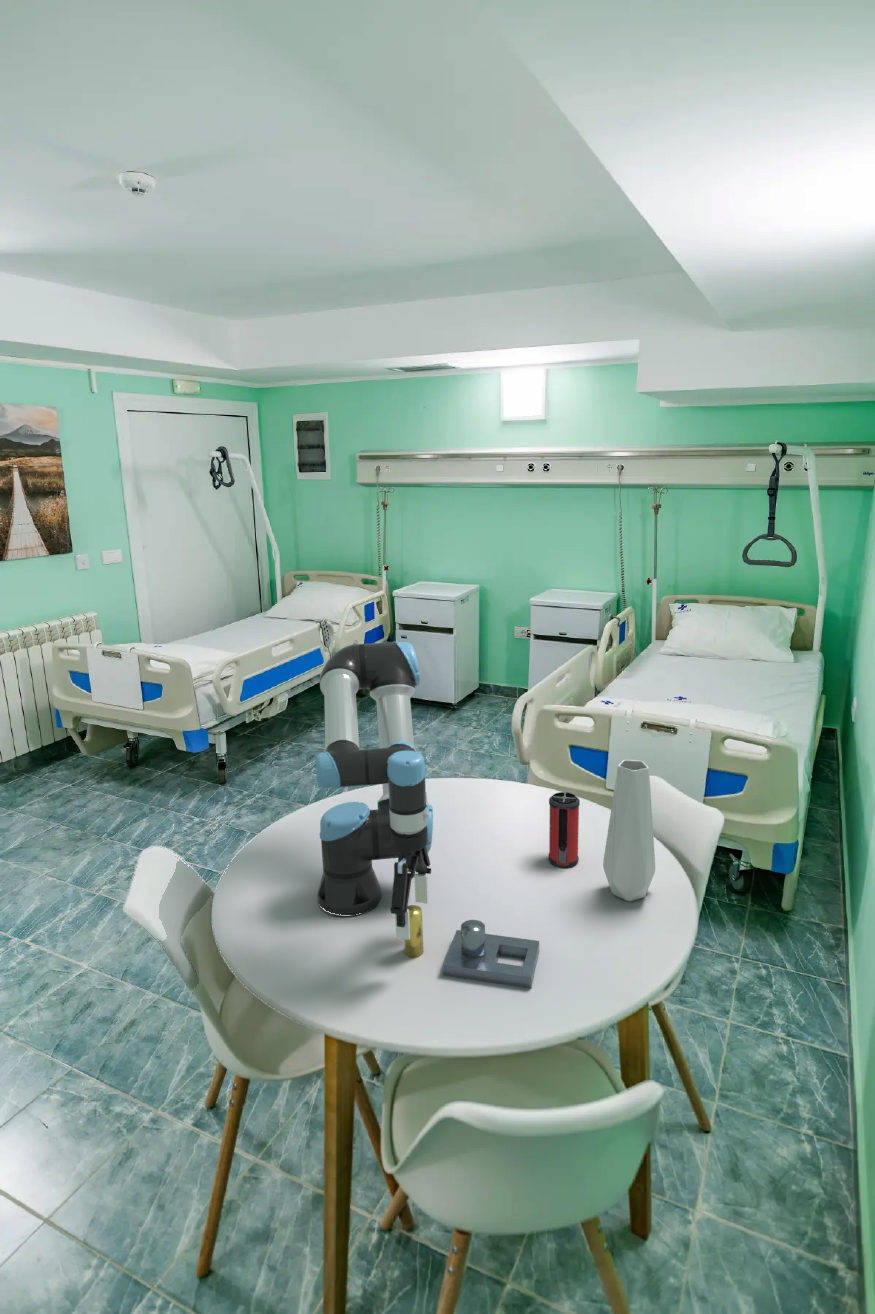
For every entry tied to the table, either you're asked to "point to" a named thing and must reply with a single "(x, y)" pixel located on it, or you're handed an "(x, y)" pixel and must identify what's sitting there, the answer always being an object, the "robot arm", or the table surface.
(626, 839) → the vase
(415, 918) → the round pin
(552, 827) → the speaker
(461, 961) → the gray peg plate
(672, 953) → the table surface
